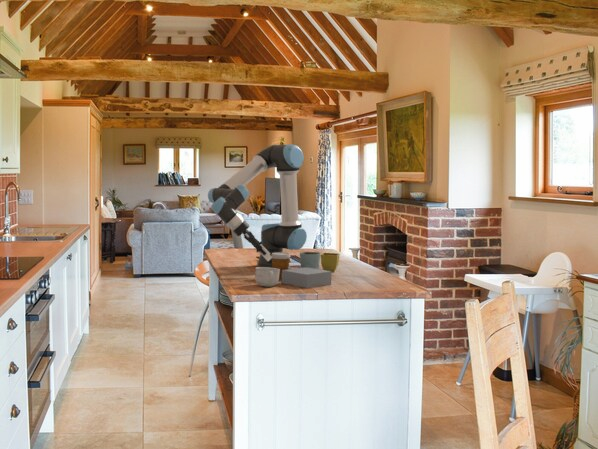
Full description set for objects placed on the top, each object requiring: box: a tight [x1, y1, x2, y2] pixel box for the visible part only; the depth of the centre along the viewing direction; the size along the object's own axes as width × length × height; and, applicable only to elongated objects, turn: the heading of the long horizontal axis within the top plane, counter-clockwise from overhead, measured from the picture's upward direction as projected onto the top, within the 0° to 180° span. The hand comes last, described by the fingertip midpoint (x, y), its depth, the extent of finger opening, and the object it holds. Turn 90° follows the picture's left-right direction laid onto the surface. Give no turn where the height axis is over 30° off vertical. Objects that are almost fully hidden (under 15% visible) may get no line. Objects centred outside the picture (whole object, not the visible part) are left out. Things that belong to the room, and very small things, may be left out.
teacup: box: [254, 266, 280, 288], centre depth 290 cm, size 14×11×8 cm
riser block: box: [281, 267, 333, 289], centre depth 299 cm, size 16×16×6 cm
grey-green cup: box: [299, 251, 322, 269], centre depth 318 cm, size 10×10×12 cm
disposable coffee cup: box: [271, 252, 291, 281], centre depth 312 cm, size 10×10×12 cm
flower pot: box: [320, 252, 340, 273], centre depth 340 cm, size 9×9×9 cm
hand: (269, 257), depth 311 cm, fingers open, 13 cm apart
